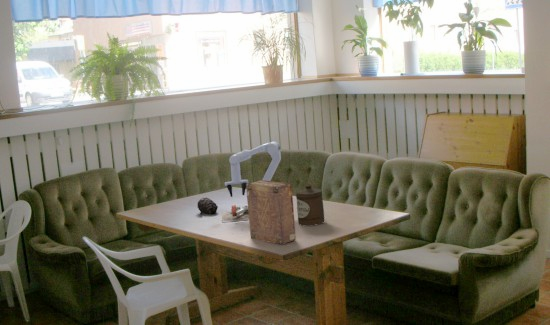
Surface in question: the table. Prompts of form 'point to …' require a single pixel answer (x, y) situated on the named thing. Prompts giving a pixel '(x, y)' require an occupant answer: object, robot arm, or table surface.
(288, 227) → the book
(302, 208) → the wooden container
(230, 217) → the base
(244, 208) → the lever
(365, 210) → the table surface
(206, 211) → the pine cone
